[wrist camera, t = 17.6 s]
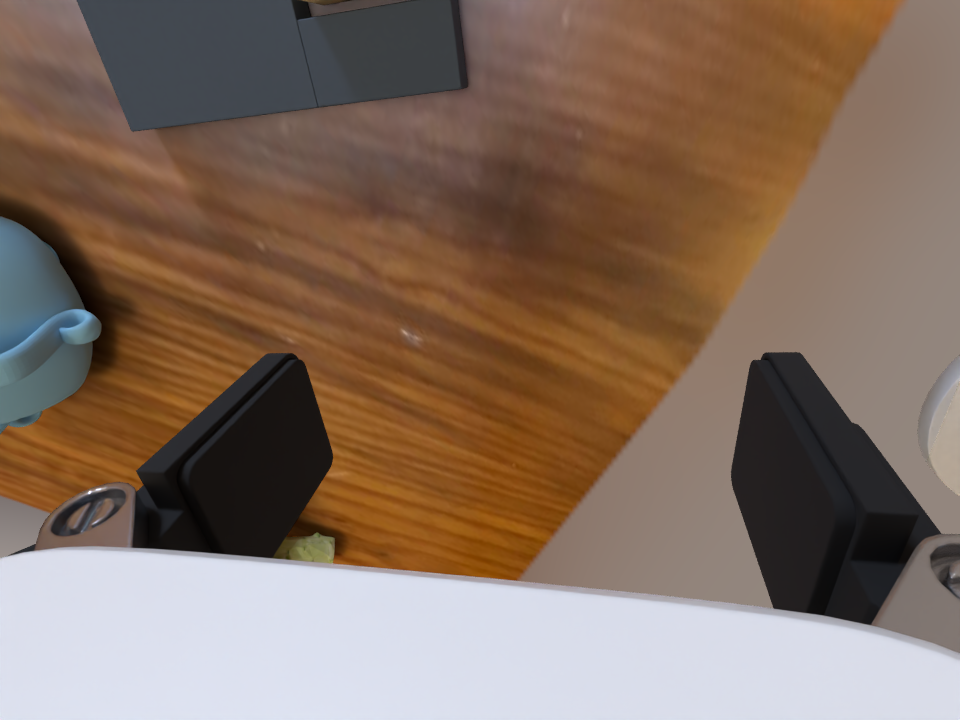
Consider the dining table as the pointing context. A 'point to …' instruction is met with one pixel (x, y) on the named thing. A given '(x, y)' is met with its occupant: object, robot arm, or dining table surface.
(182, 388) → the dining table surface
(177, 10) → the u-shaped block
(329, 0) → the pad
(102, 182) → the dining table surface
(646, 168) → the dining table surface
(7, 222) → the decorative pot
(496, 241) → the dining table surface
